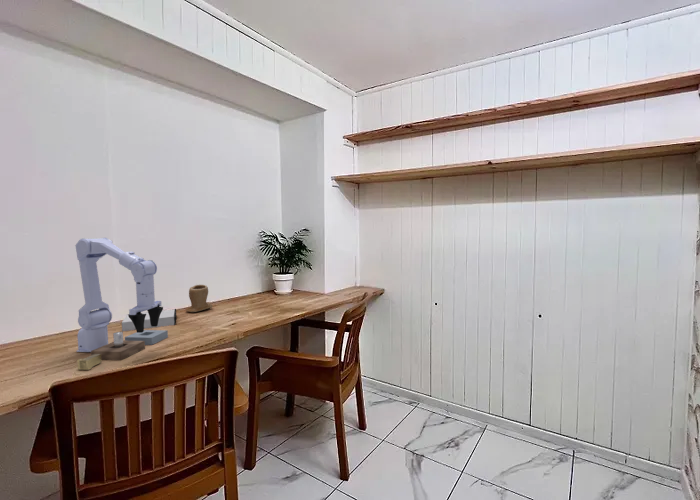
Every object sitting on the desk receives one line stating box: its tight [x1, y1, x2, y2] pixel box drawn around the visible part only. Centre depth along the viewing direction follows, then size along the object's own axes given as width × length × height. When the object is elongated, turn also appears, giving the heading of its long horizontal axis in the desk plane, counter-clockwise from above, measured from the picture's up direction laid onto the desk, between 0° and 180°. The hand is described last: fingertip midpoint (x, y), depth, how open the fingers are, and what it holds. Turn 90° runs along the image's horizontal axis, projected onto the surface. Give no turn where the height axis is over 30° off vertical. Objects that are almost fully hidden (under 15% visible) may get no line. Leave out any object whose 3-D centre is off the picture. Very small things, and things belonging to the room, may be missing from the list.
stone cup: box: [184, 284, 214, 313], centre depth 198 cm, size 15×12×15 cm
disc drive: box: [121, 308, 178, 332], centre depth 171 cm, size 18×22×5 cm
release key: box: [77, 354, 102, 371], centre depth 118 cm, size 4×6×3 cm, turn 173°
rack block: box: [124, 329, 169, 346], centre depth 145 cm, size 12×10×3 cm
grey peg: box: [112, 331, 124, 348], centre depth 130 cm, size 3×3×8 cm
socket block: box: [90, 339, 146, 361], centre depth 130 cm, size 12×12×3 cm
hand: (147, 329), depth 128 cm, fingers open, 7 cm apart
